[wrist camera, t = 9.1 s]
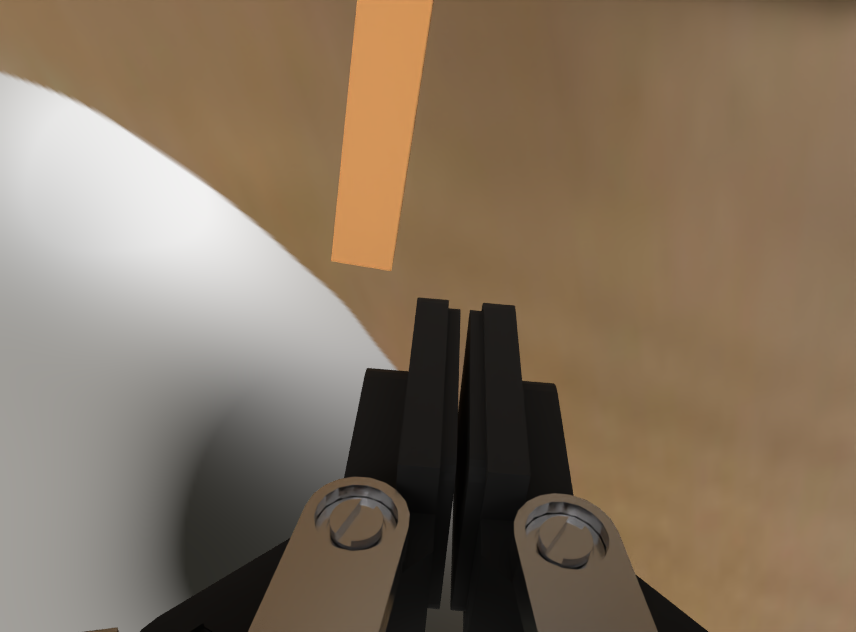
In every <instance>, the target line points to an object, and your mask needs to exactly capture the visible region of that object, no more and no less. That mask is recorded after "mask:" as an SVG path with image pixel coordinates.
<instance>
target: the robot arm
mask: <svg viewBox="0 0 856 632" xmlns="http://www.w3.org/2000/svg"><path fill="white" fill-rule="evenodd" d="M448 305H449V300H441V299H429V298H418V299H417V307H416V315H415V324H414V332H413V340H412V349H411V357H410V365H409V372H408V371H396V370H384V369H372V368H367V370H366V373H365V377H364V382H363V387H362V392H361V397H360V402H359V407H358V412H357V416H356V421H355V427H354V431H353V436H352V441H351V446H350V451H349V457H348V461H347V466H346V471H345V476H344V478H343V479H338V480H336V481H333V482H331V483H329V484H326V485H325V486H323V487H322V488H320V489H319V490H318V491H317V492H315V493H314V494H313V495H312V497H311V498H310V499H309V501H308V502H307V504H306V505H305V507H304V510H303V512H302V514H301V516H300V518H299V521H298V523H297V525H296V527H295V529H294V532H293V534H292V536H291V538H289V539H288V540H286V541H285V542H283V543H281V544H279V545H278V546H276V547H274V548H273V549H272V550H269V551H268V552H266V553H264V554H263V555H261V556H259V557H258V558H256V559H254V560H253V561H251V562H249V563H248V564H246V565H244V566H243V567H241V568H239V569H238V570H236V571H234V572H232V573H231V574H229V575H227V576H226V577H224V578H222V579H221V580H219V581H217V582H216V583H214V584H212V585H211V586H209V587H208V588H206V589H204V590H202V591H201V592H199V593H197V594H196V595H194V596H192V597H191V598H189V599H187V600H186V601H184V602H182V603H181V604H179V605H177V606H176V607H174V608H172V609H171V610H169V611H167V612H166V613H164V614H162V615H161V616H159V617H157V618H156V619H155V620H154V621H152V622H151V623H149V624H148V625H147V626H146V627H144V628H143V629H142V630H141V631H140V632H425V625H426V616H427V608H433V609H439V608H440V601H441V593H442V584H443V576H444V568H445V560H446V551H447V543H448V535H449V527H450V519H451V510H452V501H453V531H452V566H451V567H452V568H451V601H450V602H451V603H450V607H451V610H456V611H463V632H708V631H707V630H706V629H704V628H703V627H702V626H700V625H699V624H698V623H697V622H695V621H694V620H693V619H692V618H690V617H689V616H688V615H686V614H685V613H684V612H683V611H681V610H680V609H679V608H678V607H676V606H675V605H674V604H672V603H671V602H670V601H669V600H667V599H666V598H665V597H663V596H662V595H661V594H660V593H658V592H657V591H656V590H655V589H653V588H652V587H651V586H649V585H648V584H647V583H646V582H644V581H643V580H642V579H641V578H639V577H638V576H637V575H635V572H634V570H633V567H632V565H631V562H630V560H629V557H628V555H627V552H626V550H625V547H624V545H623V542H622V539H621V537H620V534H619V532H618V530H617V528H616V527H615V525H614V523H613V522H612V520H611V519H610V518H609V517H608V516H607V515H606V514H605V513H604V512H603V511H602V510H601V509H600V508H598V507H597V506H595V505H593V504H592V503H590V502H588V501H587V500H585V499H581V498H578V497H575V496H573V490H572V483H571V477H570V470H569V464H568V457H567V451H566V444H565V438H564V432H563V425H562V419H561V412H560V406H559V399H558V393H557V389H556V386H555V384H553V383H541V382H529V381H522V375H521V364H520V354H519V343H518V332H517V321H516V311H515V306H514V305H502V304H490V303H483V305H482V311H474V310H470V314H469V322H468V331H467V339H466V348H465V357H464V365H463V374H462V383H461V391H460V400H459V408H458V388H459V348H460V309H449V308H448ZM453 494H454V496H453ZM86 632H119V631H118V628H110V629H102V630H94V631H86Z"/></svg>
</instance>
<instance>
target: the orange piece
mask: <svg viewBox="0 0 856 632" xmlns="http://www.w3.org/2000/svg"><path fill="white" fill-rule="evenodd" d="M433 2H434V0H357V8H356V18H355V28H354V38H353V48H352V58H351V68H350V78H349V88H348V98H347V108H346V118H345V128H344V138H343V148H342V158H341V168H340V178H339V188H338V198H337V208H336V218H335V228H334V238H333V248H332V258H331V261H334V262H340V263H346V264H352V265H358V266H364V267H370V268H376V269H382V270H388V271H391V269H392V264H393V259H394V253H395V248H396V242H397V235H398V229H399V222H400V216H401V209H402V203H403V196H404V190H405V183H406V177H407V170H408V164H409V157H410V151H411V145H412V138H413V132H414V125H415V119H416V112H417V106H418V99H419V93H420V86H421V80H422V73H423V67H424V60H425V54H426V48H427V41H428V35H429V28H430V22H431V15H432V9H433Z"/></svg>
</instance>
